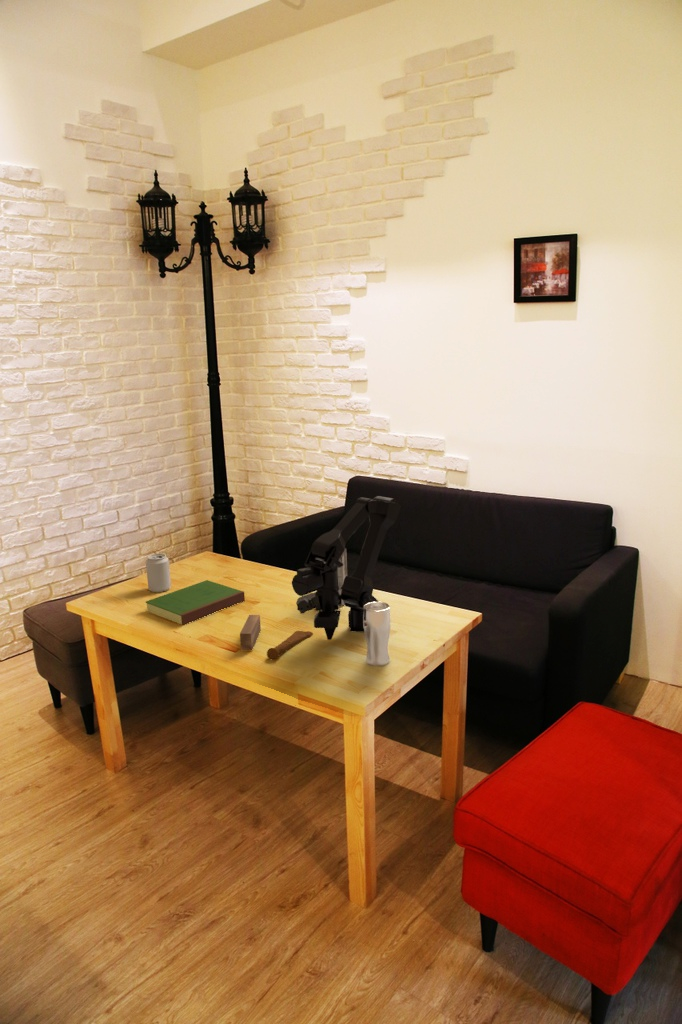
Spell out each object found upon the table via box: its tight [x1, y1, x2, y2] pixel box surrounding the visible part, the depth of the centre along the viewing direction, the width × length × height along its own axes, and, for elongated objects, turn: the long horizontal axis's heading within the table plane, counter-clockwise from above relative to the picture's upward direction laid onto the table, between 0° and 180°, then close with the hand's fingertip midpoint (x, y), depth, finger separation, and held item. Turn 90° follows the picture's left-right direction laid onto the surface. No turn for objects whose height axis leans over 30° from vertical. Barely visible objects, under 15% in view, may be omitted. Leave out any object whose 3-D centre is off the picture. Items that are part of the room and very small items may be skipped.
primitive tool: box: [266, 630, 314, 661], centre depth 193 cm, size 19×6×4 cm, turn 158°
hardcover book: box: [145, 579, 245, 626], centre depth 224 cm, size 25×19×4 cm
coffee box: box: [322, 547, 348, 606], centre depth 223 cm, size 9×6×16 cm
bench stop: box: [239, 614, 262, 651], centre depth 196 cm, size 3×13×5 cm, turn 176°
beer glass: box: [363, 601, 392, 667], centre depth 180 cm, size 7×7×15 cm
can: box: [145, 553, 172, 593], centre depth 239 cm, size 8×8×12 cm
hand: (329, 639), depth 194 cm, fingers closed
